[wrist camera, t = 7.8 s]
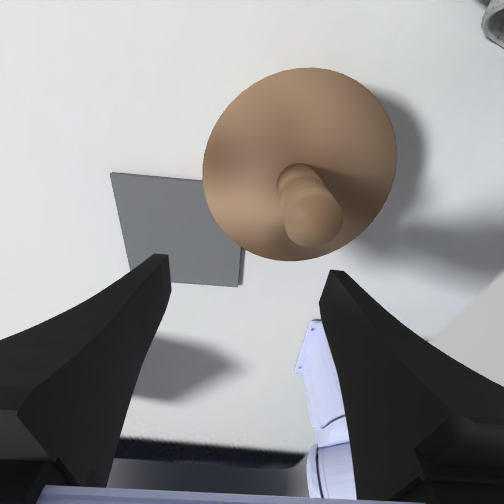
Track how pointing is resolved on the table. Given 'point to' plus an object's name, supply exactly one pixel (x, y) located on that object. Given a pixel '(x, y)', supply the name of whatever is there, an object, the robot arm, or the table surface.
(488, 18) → the ceramic mug
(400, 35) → the table surface
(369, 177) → the lid
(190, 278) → the mat
